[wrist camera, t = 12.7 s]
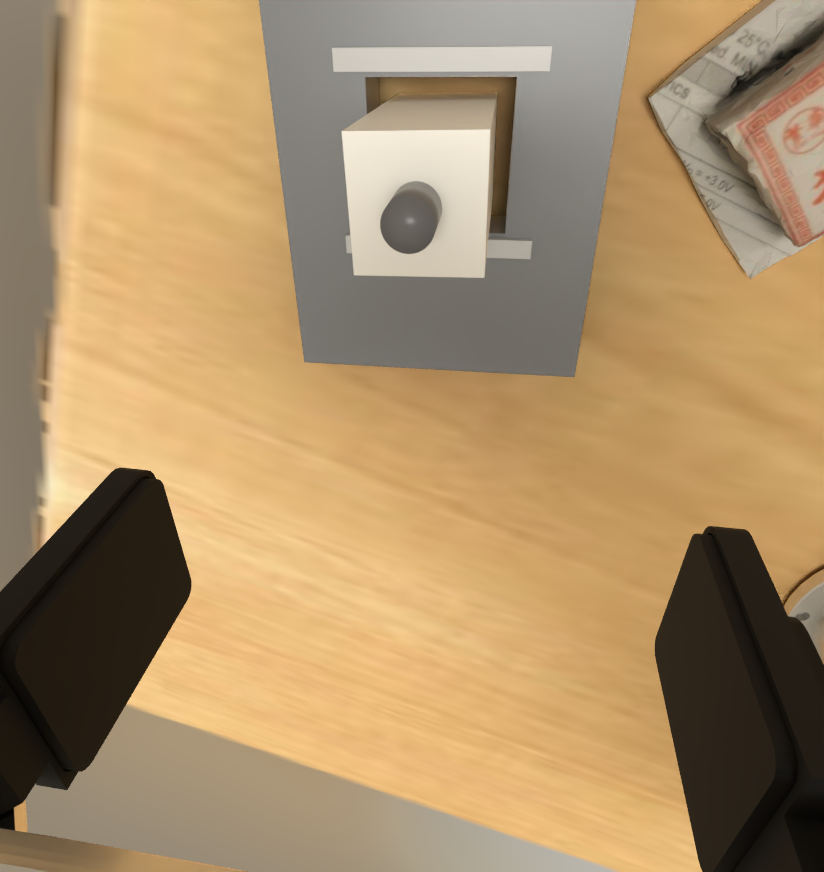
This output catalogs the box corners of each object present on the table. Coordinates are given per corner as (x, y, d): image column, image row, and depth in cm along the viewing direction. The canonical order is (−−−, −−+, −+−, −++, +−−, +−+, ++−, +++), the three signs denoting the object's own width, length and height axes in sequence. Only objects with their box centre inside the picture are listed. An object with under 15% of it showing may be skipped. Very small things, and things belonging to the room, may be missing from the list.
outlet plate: (648, -160, 21) (668, -186, 19) (569, 350, 33) (575, 380, 30) (267, -143, 23) (235, -164, 20) (319, 337, 34) (302, 364, 32)
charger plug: (497, 91, 26) (488, 141, 16) (492, 197, 29) (481, 300, 18) (398, 93, 27) (324, 142, 16) (402, 196, 29) (340, 297, 19)
